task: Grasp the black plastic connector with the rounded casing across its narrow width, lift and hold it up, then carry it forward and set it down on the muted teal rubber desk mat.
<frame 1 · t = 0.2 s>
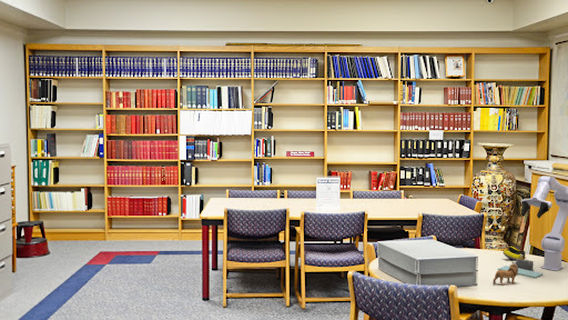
hand: (530, 216, 265), 31 cm above the table, tool tilted 45°, fingers open, 7 cm apart
connector: (524, 268, 284), on the table
lion figurine: (505, 283, 258), on the table
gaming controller: (514, 259, 305), on the table
desk mat: (520, 272, 277), on the table
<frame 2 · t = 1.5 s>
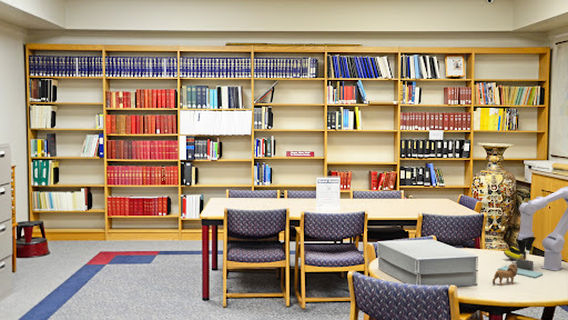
hand: (525, 251, 283), 9 cm above the table, tool pointing down, fingers open, 7 cm apart
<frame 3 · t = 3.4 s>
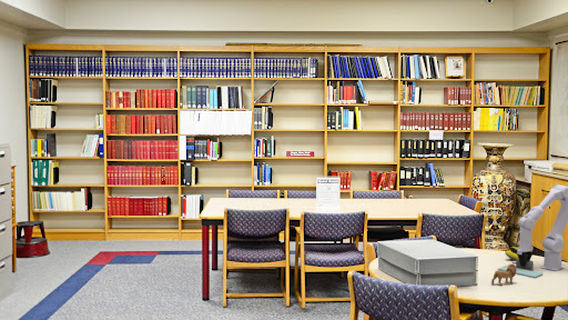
hand: (524, 265, 283), 2 cm above the table, tool pointing down, fingers closed on connector, 3 cm apart
connector: (524, 268, 284), on the table, touching gripper
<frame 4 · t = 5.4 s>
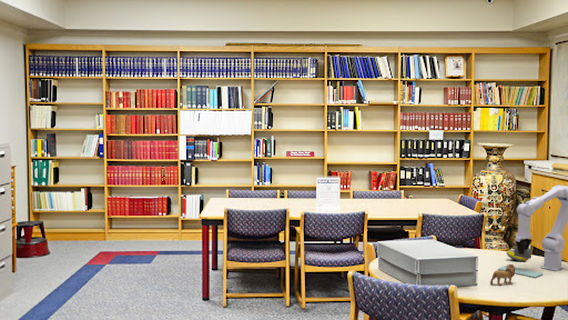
hand: (522, 253, 280), 9 cm above the table, tool pointing down, fingers closed on connector, 3 cm apart
connector: (522, 256, 280), point 7 cm above the table, touching gripper
when the fingers open (4 cm above the table, at t = 7.4 s): connector drops 1 cm, resting on desk mat.
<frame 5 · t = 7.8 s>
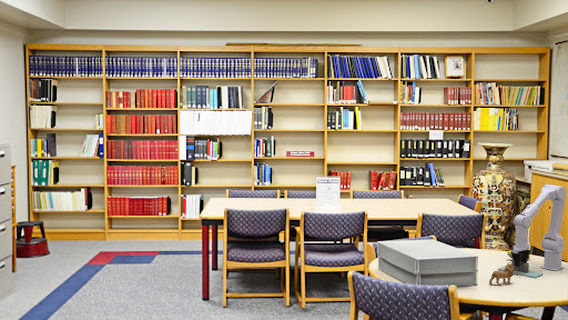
hand: (520, 264, 276), 4 cm above the table, tool pointing down, fingers open, 7 cm apart
connector: (519, 270, 277), point 1 cm above the table, touching desk mat
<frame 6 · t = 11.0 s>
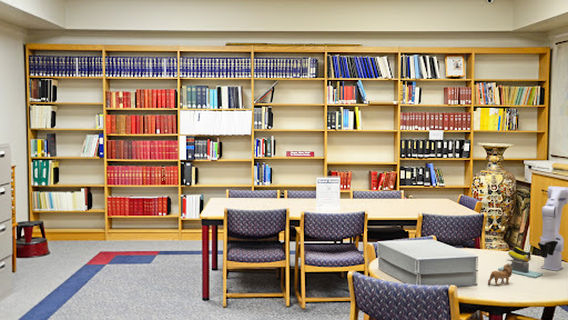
hand: (547, 256, 273), 9 cm above the table, tool pointing down, fingers open, 7 cm apart
at the end: connector 0.2 cm off-centre on the desk mat, point 0.8 cm above the desk mat's base; connector tilted 0°; the gripper is holding nothing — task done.
